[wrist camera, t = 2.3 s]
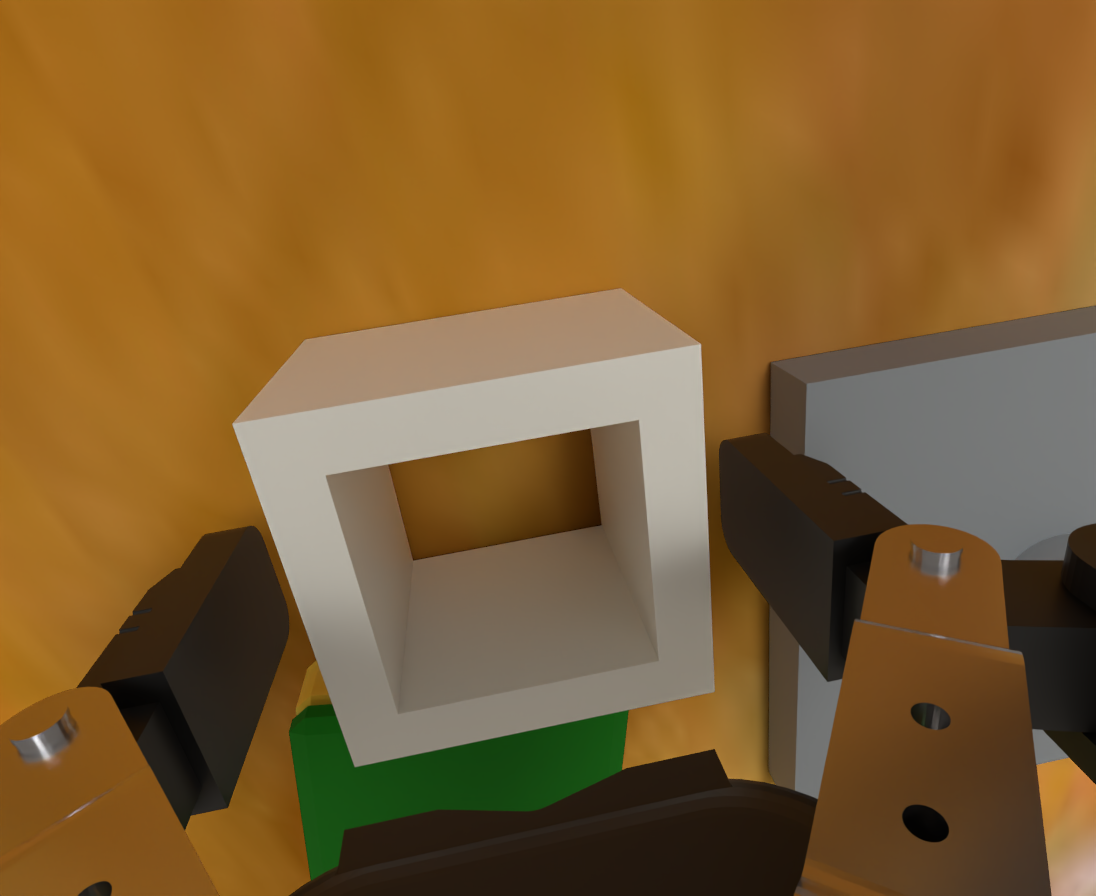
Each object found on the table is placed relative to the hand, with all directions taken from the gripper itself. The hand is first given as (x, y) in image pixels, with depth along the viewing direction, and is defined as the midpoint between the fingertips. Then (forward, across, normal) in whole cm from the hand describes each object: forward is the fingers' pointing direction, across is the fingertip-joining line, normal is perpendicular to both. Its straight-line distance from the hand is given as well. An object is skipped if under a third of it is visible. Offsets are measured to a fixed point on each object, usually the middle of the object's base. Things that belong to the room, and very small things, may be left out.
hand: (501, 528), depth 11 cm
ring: (+3, 0, 0) cm, 3 cm away
